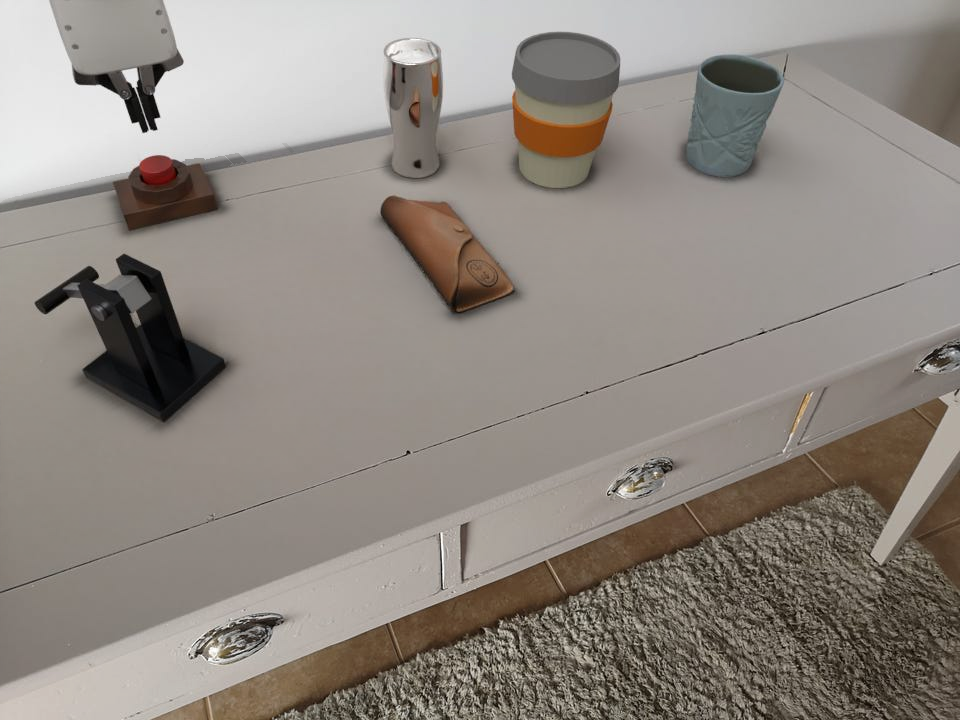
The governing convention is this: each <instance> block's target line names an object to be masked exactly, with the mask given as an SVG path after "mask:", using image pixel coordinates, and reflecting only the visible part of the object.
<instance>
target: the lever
mask: <svg viewBox="0 0 960 720" xmlns="http://www.w3.org/2000/svg"><path fill="white" fill-rule="evenodd" d="M99 278H100V274H99V272H98V271H97V270H96V269H95V268H94V267H93V266H92V265H87V266H86V267H84V268H82V269H81V270H80V271H78V272H77V273H75V274H73V275H72V276H71V277H69V278H68V279H66V280H65V281H63V282H61V284H59V285H57V286H56V287H54V288H53V289H51V290H50V291H49V292H47V293H46V294H44V295H43V296H41V297H40V298H38V299H36V300H35V301H34V306H35V308H36V309H37V310H38V311H39V312H40V313H41V314H43V315H48V314H49V313H51V312H52V311H54V310H55V309H56V308H58V307H60V306H61V305H62V304H64V303H65V302H66V301H68V300H69V299H72V298H73V299H83V297H82V295H81V293H80V291H79V288H78V286H77V285H78V284H80V283H81V282H83V281H84V280H86V279H88V280H89V281H91V282H93V283H95V281H97V280H98V279H99ZM96 284H97V285H99V286H101V287H103V288H105V289H107V290H109V291H111V292H113V293H115V294H117V295H119V296H121V297H123V298H124V300H125V302H126V305H127V307H128V310H129V312H130V314H134V313H136V310H138V309H139V308H140V307H142V306H143V305H144V304H146V303H147V302H148V301H150V300H151V299H152V298H151V297H150V295H149V294H148V292H147V291H146V289H145V288H144V286H143V285H142V283H141V281H140V280H139V278H138V277H137V276H131V275H121V274H119V275H117V276H115V277H114V278H113V279H111V280H110V281H108V282H107V283H105V284H104V283H96Z"/></svg>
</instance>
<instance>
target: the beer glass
mask: <svg viewBox="0 0 960 720" xmlns="http://www.w3.org/2000/svg"><path fill="white" fill-rule="evenodd" d="M382 65H383V66H382V67H383V69H382V70H383V71H382V72H383V73H382V77H383V78H382V79H383V80H382V82H383V95H384V101H385V106H386V111H387V116H388V120H389V123H390V128H391V132H392V139H393V147H392V156H391V168H392V169H393V171H394V172H395V173H396V174H398V175H400V176H401V177H404V178H409V179H423V178H426V177H430V176H432V175H433V174H435V173H436V172H437V171H438V170H439V168H440V157H439V153H438V147H437V134H438V127H439V122H440V116H441V111H442V105H443V97H444V74H443V62H442V48H441V47H440V46H439V45H438V44H437V43H436V42H434V41H432V40H428V39H425V38H422V37H421V38H420V37H405V38H398V39H395V40H392V41H390V42H389V43H387V44H386V45H385V46H384V48H383V64H382Z"/></svg>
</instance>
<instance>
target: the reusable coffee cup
mask: <svg viewBox="0 0 960 720" xmlns="http://www.w3.org/2000/svg"><path fill="white" fill-rule="evenodd" d="M514 53H515V54H514V58H513V65H512V71H511V79H512V81H513V84H514V88H515V89H514V91H513V93H512V97H511V100H512V101H511V102H512V119H513V120H512V121H513V133H514V137H515V138H516V140H517V147H518V165H519V167H518V169H519V172H520V173H521V174H522V175H523V177H524V178H525V179H526V180H528V181H529V182H531V183H533V184H535V185H538V186H541V187H545V188H550V189H566V188H571V187H574V186H577V185H579V184H581V183H583V182H584V181H585V180H586V179H587V178H588V175H589V173H590V170H591V167H592V163H593V160H594V157H595V154H596V150H597V149H598V148H599V146H601V144H602V142H603V140H604V136H605V133H606V130H607V127H608V124H609V120H610V116H611V114H612V111H613V106H614V105H613V101H612V100H613V96H614V94H615V93H616V92H617V90H618V88H619V84H620V73H621V56H620V53H619V52H618V51H617V49H616V48H615V47H614V46H612V44H610V43H608V42H606V41H605V40H603V39H600V38H597V37H596V36H592V35H589V34H584V33H580V32H573V31H548V32H542V33H541V32H540V33H537V34H533V35H531V36H529V37H527V38H525V39H523V40H522V41H520V42H519V44H518V45H517V46H516V49H515V52H514Z"/></svg>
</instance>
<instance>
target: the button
mask: <svg viewBox="0 0 960 720" xmlns="http://www.w3.org/2000/svg"><path fill="white" fill-rule="evenodd" d="M171 159H172V158H171V157H169V156H167V155H162V154H156V155H151V156H147V157H145V158H144V159H142V160H141V161H140V162H139V164H138V166H139V168H140V172H141V175H142V178H143V180H144V182H145V183H146V184H148V185H162V184H166V183H169V182H170V181H172V180H174V179H175V177H176V172H175V169H174V165H173V162H172V160H171Z"/></svg>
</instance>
